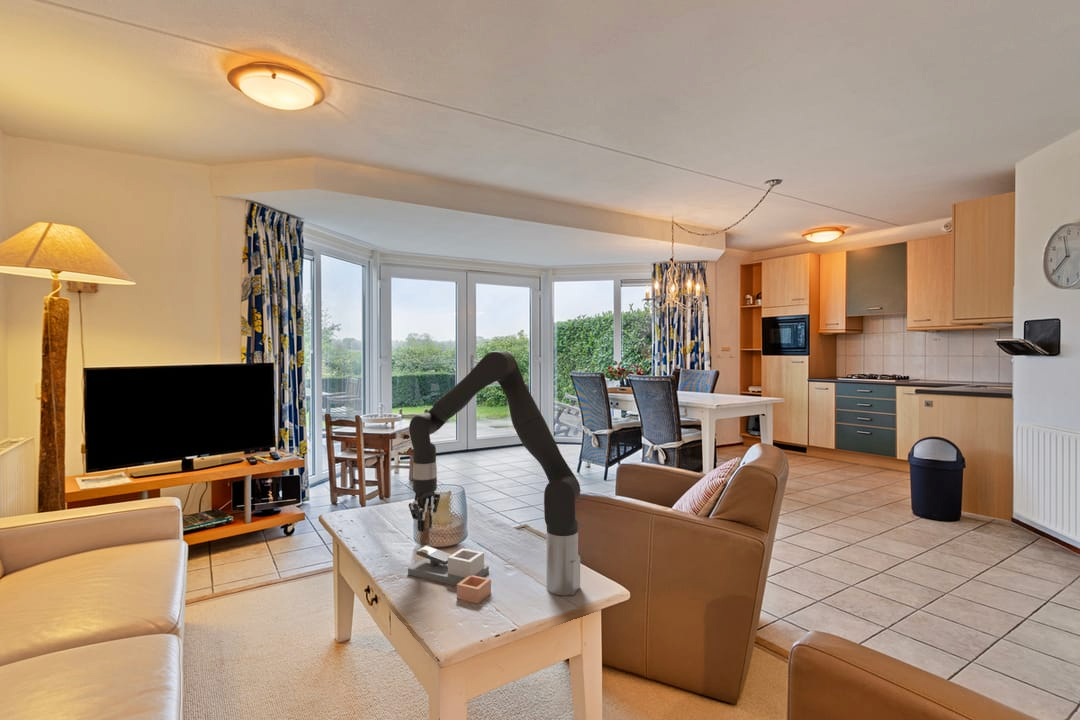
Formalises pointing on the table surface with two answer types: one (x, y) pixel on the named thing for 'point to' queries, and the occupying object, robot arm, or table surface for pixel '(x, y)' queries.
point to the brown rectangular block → (425, 535)
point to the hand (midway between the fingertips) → (425, 529)
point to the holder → (473, 588)
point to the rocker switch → (434, 554)
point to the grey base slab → (452, 567)
